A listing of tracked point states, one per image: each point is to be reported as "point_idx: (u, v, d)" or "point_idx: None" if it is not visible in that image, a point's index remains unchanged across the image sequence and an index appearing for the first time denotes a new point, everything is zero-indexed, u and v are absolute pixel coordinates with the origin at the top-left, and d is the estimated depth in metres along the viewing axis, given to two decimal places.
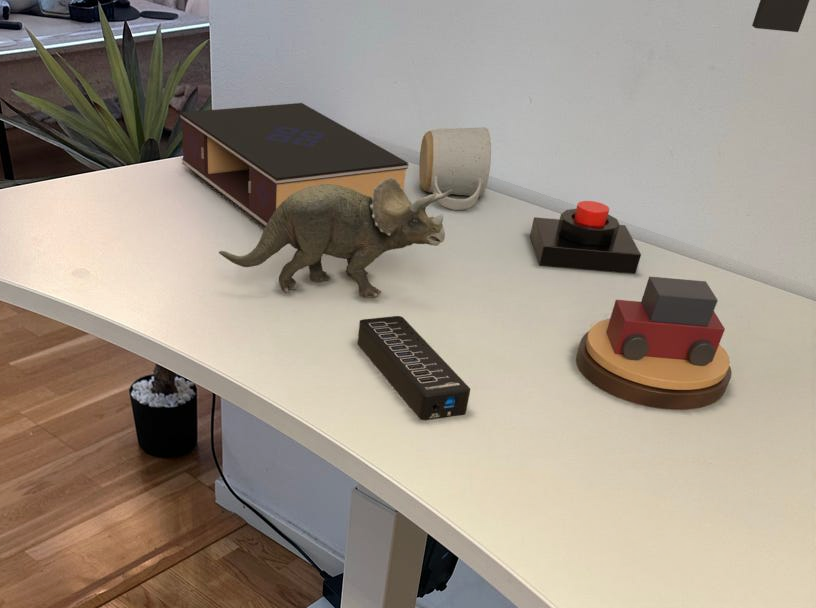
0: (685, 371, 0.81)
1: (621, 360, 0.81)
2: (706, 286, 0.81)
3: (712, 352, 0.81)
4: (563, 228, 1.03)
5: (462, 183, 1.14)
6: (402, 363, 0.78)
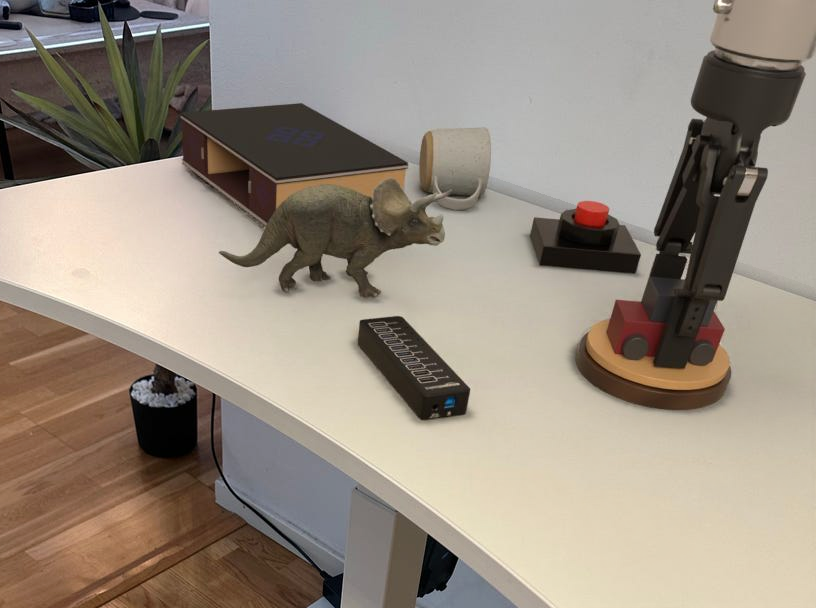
0: (685, 371, 0.81)
1: (621, 360, 0.81)
2: None
3: (712, 352, 0.81)
4: (563, 228, 1.03)
5: (462, 183, 1.14)
6: (402, 363, 0.78)
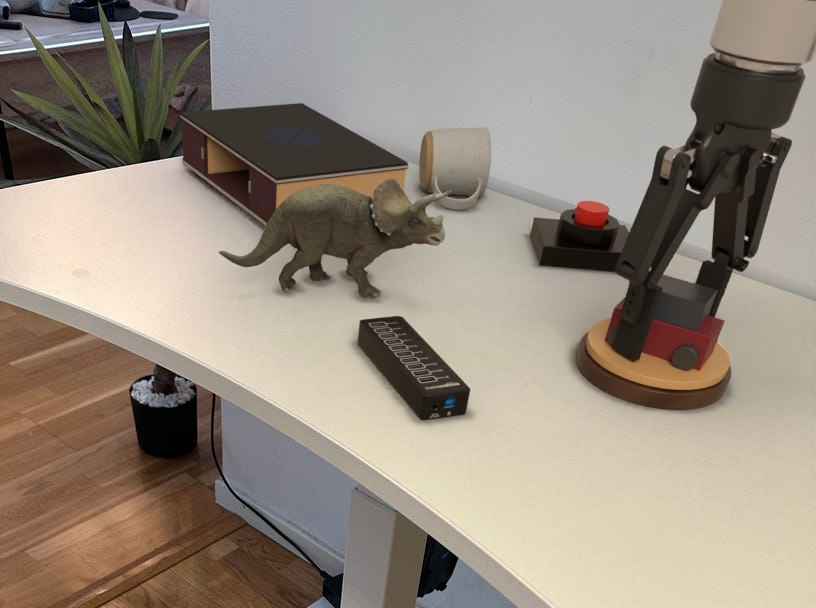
0: (659, 369, 0.81)
1: (604, 346, 0.83)
2: (711, 293, 0.80)
3: (693, 358, 0.80)
4: (563, 228, 1.03)
5: (462, 183, 1.14)
6: (402, 363, 0.78)
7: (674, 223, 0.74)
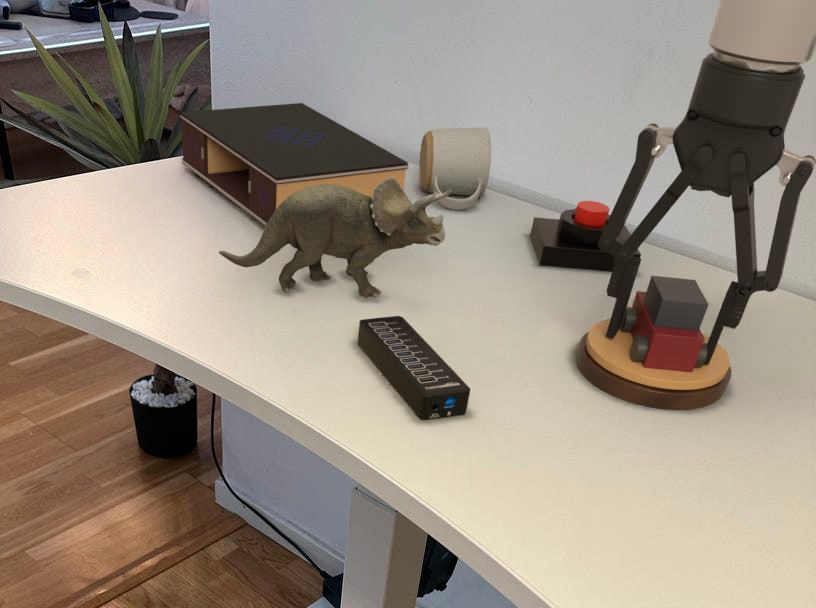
0: (613, 349, 0.83)
1: None
2: (694, 301, 0.78)
3: (636, 348, 0.80)
4: (563, 228, 1.03)
5: (462, 183, 1.14)
6: (402, 363, 0.78)
7: None
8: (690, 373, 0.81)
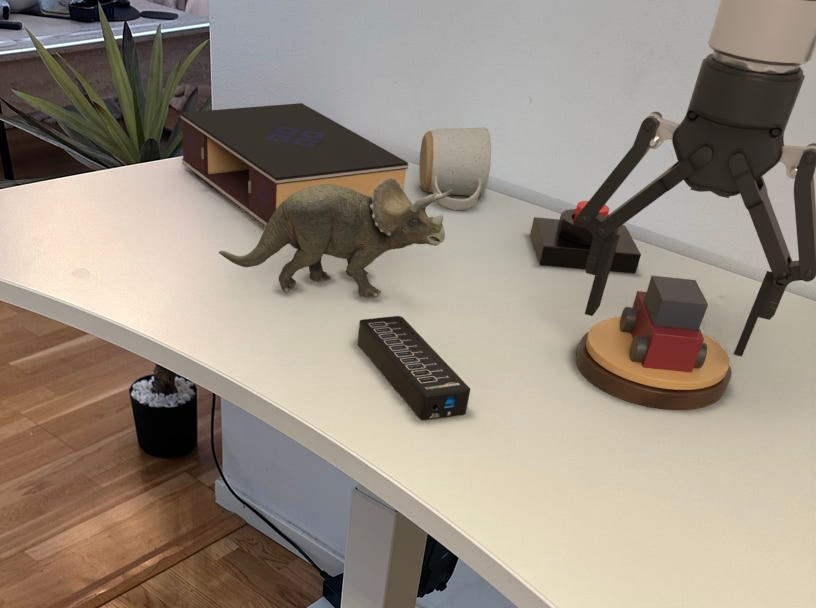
0: (612, 349, 0.83)
1: (615, 323, 0.87)
2: (693, 301, 0.78)
3: (635, 348, 0.80)
4: (563, 228, 1.03)
5: (462, 183, 1.14)
6: (402, 363, 0.78)
7: (643, 190, 0.76)
8: (689, 373, 0.81)
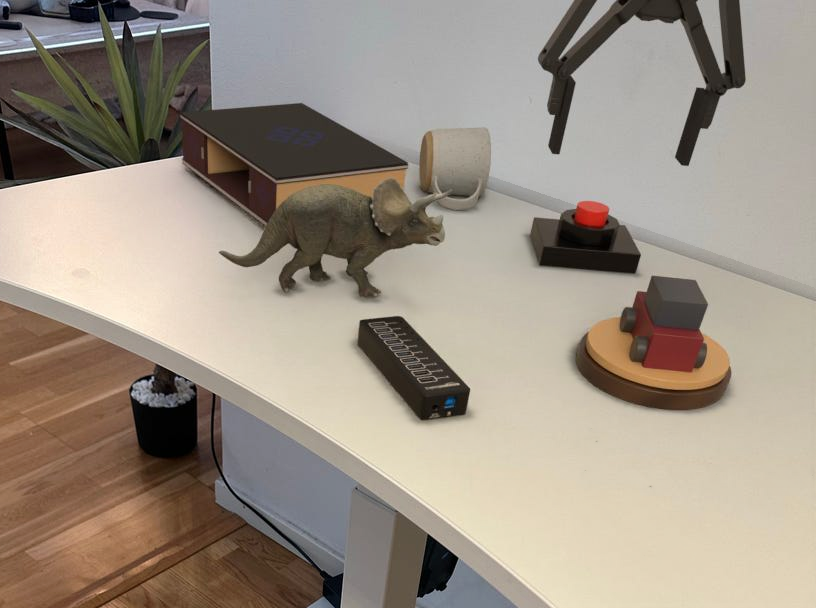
0: (612, 349, 0.83)
1: (615, 323, 0.87)
2: (693, 301, 0.78)
3: (635, 348, 0.80)
4: (563, 228, 1.03)
5: (462, 183, 1.14)
6: (402, 363, 0.78)
7: (597, 27, 0.87)
8: (689, 373, 0.81)
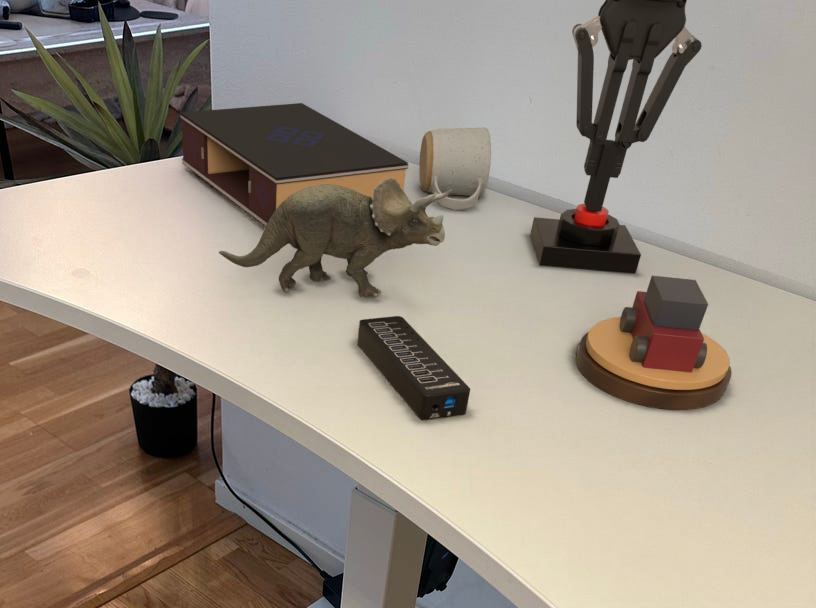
0: (612, 349, 0.83)
1: (615, 323, 0.87)
2: (693, 301, 0.78)
3: (635, 348, 0.80)
4: (563, 228, 1.03)
5: (462, 183, 1.14)
6: (402, 363, 0.78)
7: (605, 88, 0.94)
8: (689, 373, 0.81)
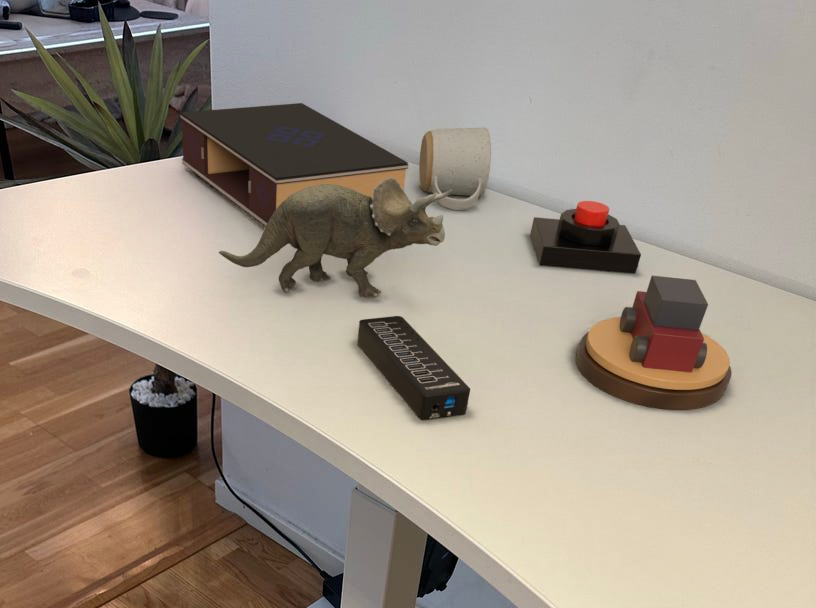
0: (612, 349, 0.83)
1: (615, 323, 0.87)
2: (693, 301, 0.78)
3: (635, 348, 0.80)
4: (563, 228, 1.03)
5: (462, 183, 1.14)
6: (402, 363, 0.78)
7: None
8: (689, 373, 0.81)
